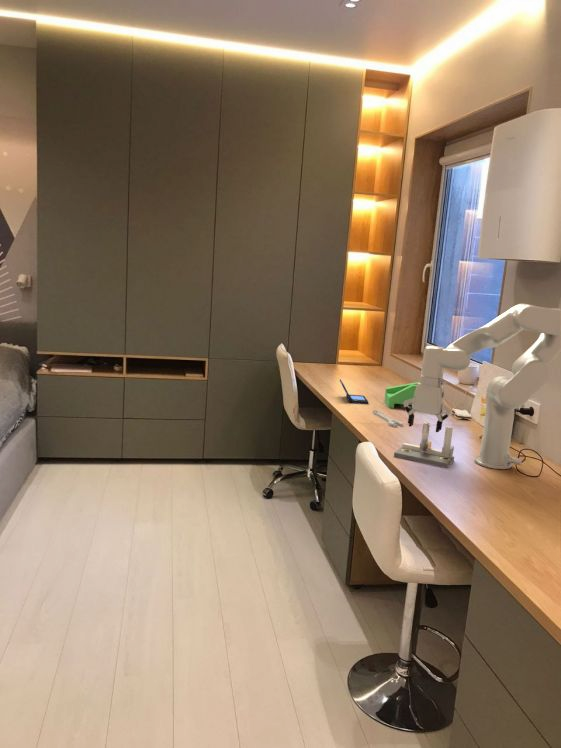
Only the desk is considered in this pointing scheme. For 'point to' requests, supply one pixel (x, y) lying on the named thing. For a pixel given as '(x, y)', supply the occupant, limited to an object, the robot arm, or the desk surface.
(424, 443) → the post
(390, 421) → the adjustable wrench
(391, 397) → the ramp block with notch
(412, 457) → the board
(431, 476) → the desk surface
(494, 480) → the desk surface
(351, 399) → the handheld game console
